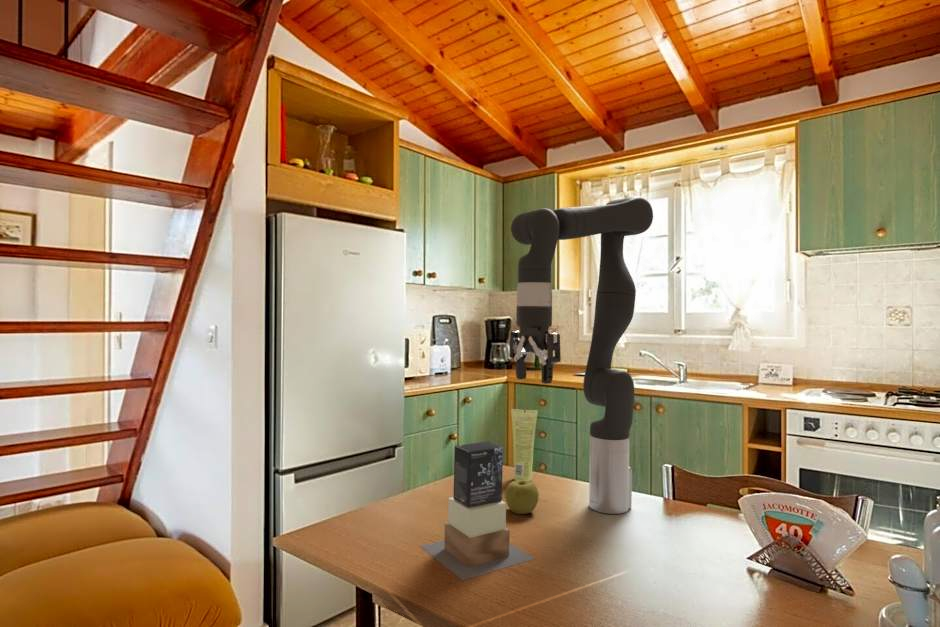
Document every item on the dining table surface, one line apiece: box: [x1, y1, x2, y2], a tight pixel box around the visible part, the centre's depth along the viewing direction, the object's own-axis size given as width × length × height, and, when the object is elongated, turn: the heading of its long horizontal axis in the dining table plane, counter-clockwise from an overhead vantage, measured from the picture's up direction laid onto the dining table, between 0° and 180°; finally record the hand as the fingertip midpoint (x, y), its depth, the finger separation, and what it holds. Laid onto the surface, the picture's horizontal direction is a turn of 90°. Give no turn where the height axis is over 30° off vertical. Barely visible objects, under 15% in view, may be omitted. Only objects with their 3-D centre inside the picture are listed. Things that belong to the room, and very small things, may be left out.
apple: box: [504, 480, 539, 515], centre depth 128 cm, size 8×8×7 cm
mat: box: [420, 539, 536, 581], centre depth 106 cm, size 16×16×1 cm
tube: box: [510, 408, 539, 482], centre depth 153 cm, size 6×5×20 cm
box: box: [452, 440, 504, 508], centre depth 105 cm, size 8×6×11 cm
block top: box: [447, 496, 507, 538], centre depth 106 cm, size 8×8×5 cm
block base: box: [444, 522, 510, 567], centre depth 106 cm, size 9×9×5 cm
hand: (533, 381), depth 117 cm, fingers open, 8 cm apart
